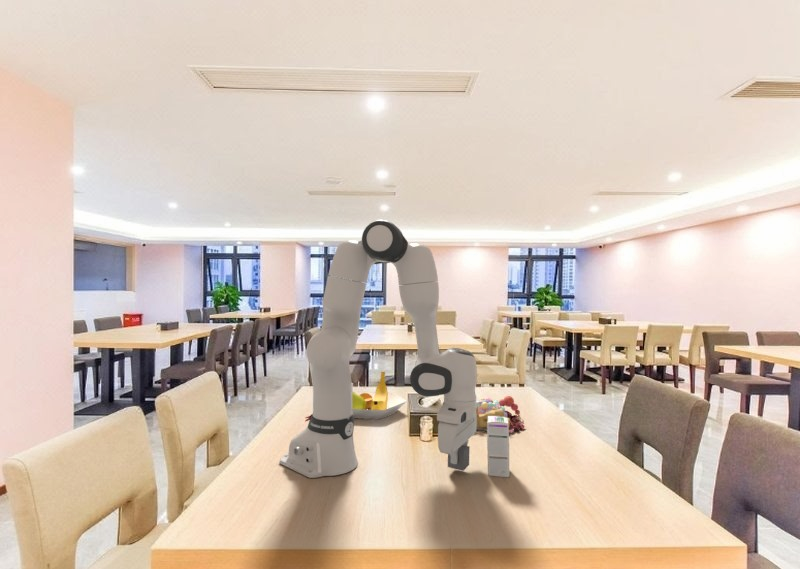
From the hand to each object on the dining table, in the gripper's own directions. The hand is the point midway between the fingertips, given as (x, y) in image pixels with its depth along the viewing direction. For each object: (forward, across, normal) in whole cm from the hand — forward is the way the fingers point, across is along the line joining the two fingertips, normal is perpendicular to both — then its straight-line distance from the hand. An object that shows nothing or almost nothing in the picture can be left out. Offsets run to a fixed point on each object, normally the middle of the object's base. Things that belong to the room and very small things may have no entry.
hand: (458, 459), depth 111 cm
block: (+2, 0, 0) cm, 2 cm away
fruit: (+4, -33, -51) cm, 61 cm away
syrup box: (+4, -5, +10) cm, 11 cm away
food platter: (+4, -45, -4) cm, 46 cm away
